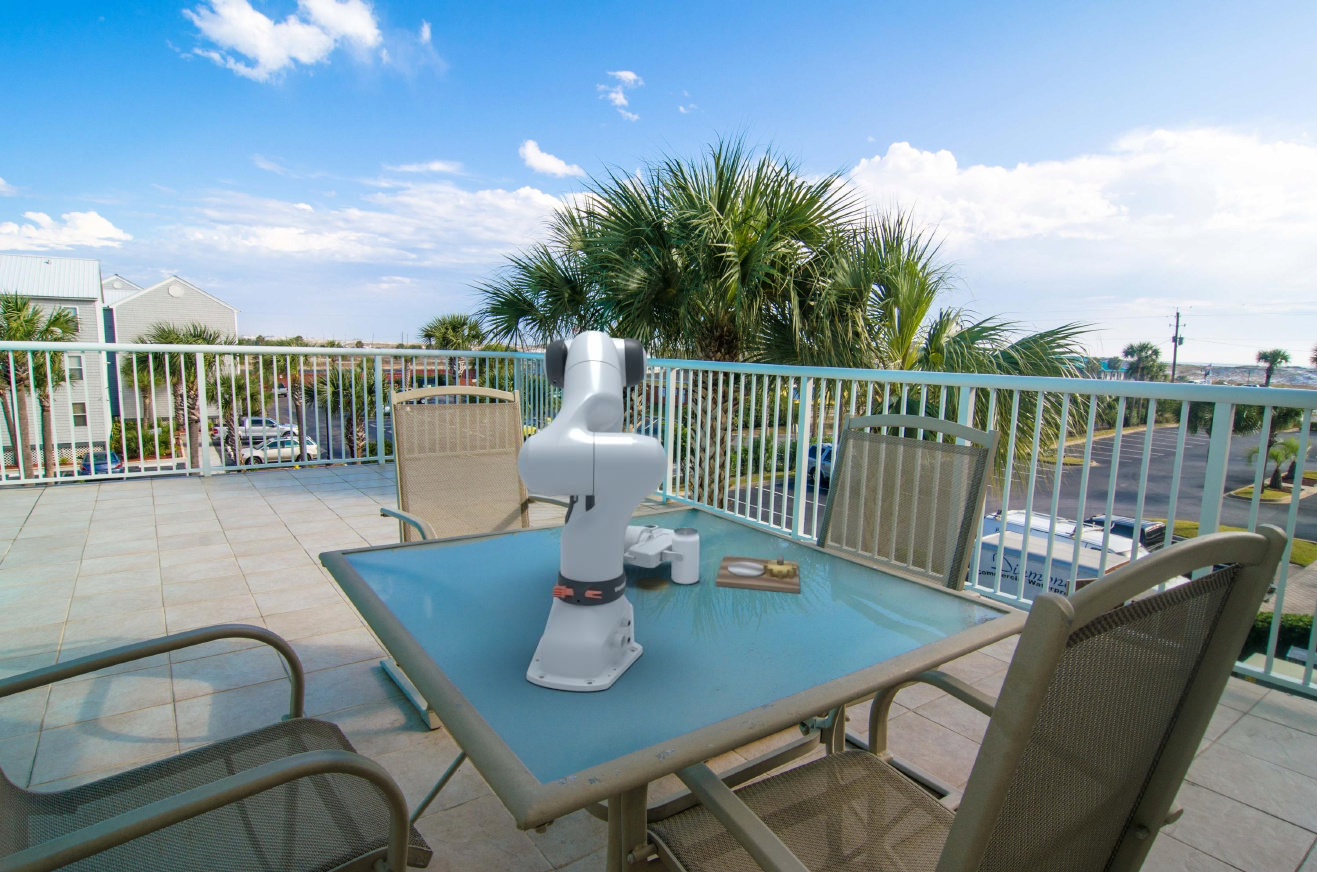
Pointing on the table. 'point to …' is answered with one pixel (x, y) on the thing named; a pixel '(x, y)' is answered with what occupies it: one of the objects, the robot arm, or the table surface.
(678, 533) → the can
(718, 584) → the board
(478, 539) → the table surface
